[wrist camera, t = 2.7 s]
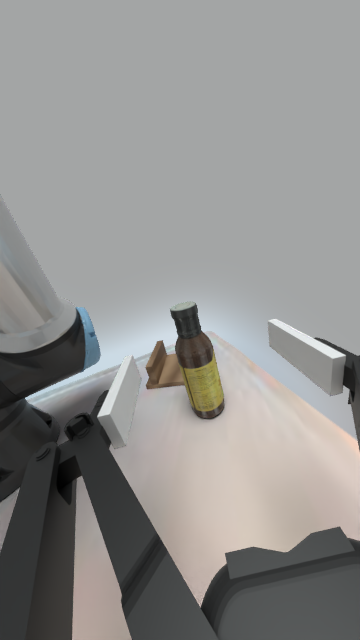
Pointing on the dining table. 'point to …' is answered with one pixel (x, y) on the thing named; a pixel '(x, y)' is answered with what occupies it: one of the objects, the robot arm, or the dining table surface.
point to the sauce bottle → (197, 362)
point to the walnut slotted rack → (163, 369)
